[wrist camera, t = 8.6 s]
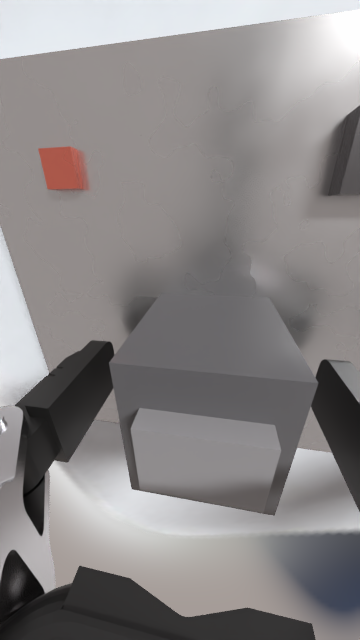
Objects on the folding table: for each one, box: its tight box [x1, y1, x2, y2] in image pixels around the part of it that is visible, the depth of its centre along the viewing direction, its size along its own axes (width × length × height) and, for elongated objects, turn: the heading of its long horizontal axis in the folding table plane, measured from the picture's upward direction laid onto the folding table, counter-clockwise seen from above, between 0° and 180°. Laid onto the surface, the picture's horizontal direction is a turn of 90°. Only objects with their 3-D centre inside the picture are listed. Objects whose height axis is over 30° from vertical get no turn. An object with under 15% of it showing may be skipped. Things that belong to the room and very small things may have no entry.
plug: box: [109, 293, 318, 515], centre depth 9 cm, size 5×4×8 cm
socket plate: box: [0, 10, 360, 452], centre depth 10 cm, size 16×18×3 cm
